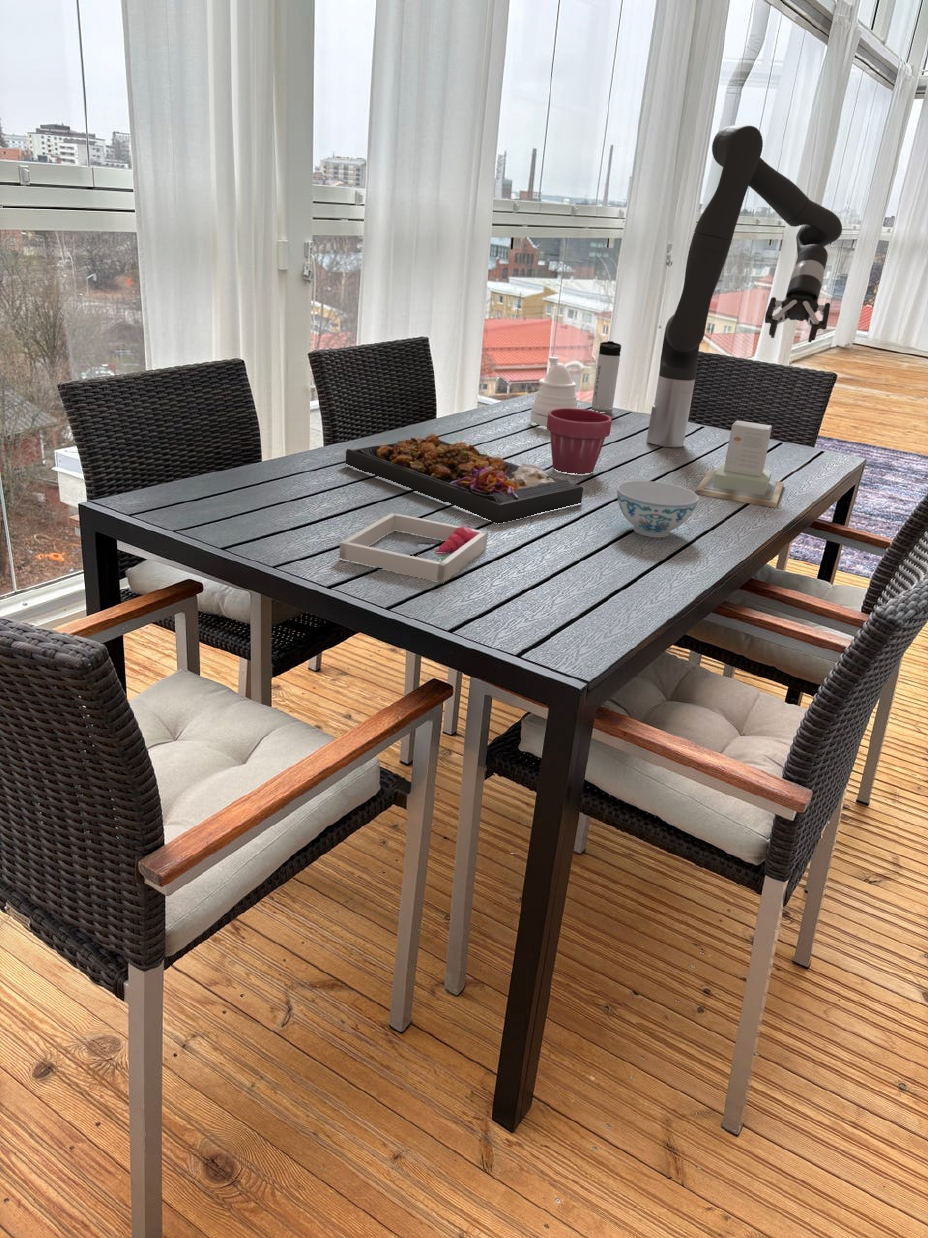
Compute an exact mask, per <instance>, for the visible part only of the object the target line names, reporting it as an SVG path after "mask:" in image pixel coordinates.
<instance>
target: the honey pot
mask: <svg viewBox="0 0 928 1238" xmlns="http://www.w3.org/2000/svg"><path fill="white" fill-rule="evenodd" d="M559 359H560V358H559V357H558V356H549V357H548V361H549V363H550V365H553V366H552V367H551V368H550V369H549V371H548V372H547V374H546V376H545V377H544V378H539V380H538V384H539V385H540V387H539V389H538V391H537V392H536V396H535V397H534V400H533V402H532V403H531V408H530V410H531V411H530V418H529V421H530V420H531V421H532V422H534V423H536V424H539V425H541V426H545V427H547V419H548V413H549V411H551V410H553V409H560V408H575V409H580V408H579V406H578V400H577V398H578V397H577V394H576V390H575V387H576V386H577V383H576V382H574V381H573V379H572V376H571V373H570V371H569V369H568V367H567V366H566V365H565V364H564V363H562V362H558V361H559Z"/></svg>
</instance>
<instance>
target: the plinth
mask: <svg viewBox="0 0 928 1238" xmlns="http://www.w3.org/2000/svg"><path fill="white" fill-rule="evenodd" d="M724 467H725V462H721V464H720V466H719V467H718V469H717V470H716V471H717V472H716V474H715V478H714V483H713V487H718V488H724V489H730V490H736V491H741V492H747V493H753V494H758V495H765V492H766V490H767V487H768V485H769V482H770V480H771V476H772V472H773V471H772V470H768V469H763V472H762V473H761V475H760V476H759V477H758V476H752V475H746V474H740V473H734V472H728V471H724Z"/></svg>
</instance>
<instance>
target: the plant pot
mask: <svg viewBox="0 0 928 1238" xmlns="http://www.w3.org/2000/svg"><path fill="white" fill-rule="evenodd" d="M612 421H613V420H612V417H611V416H610V415H607V414H603V413H600V412H596V411H592V410H591V409H584V408H579V409H575V408H560V409H553V410H551V411H549V413H548V419H547V429H548V430H547V431H549V435H550V436H549V439H550V449H551V459H552V460H551V461H552V469H553V468H554V469H556V470H558V471H561V472H567V473H575V474H576V473H577V474H585V473H591V472H593V473H594V470H595V467H596V464H597V462H598V459H599V456H600V454H601V452H602V448H603V446H604V443H605V439H606V438H607V437H609V436H610V434H611V430H612ZM554 469H553V470H554Z"/></svg>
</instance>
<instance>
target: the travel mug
mask: <svg viewBox="0 0 928 1238" xmlns="http://www.w3.org/2000/svg"><path fill="white" fill-rule="evenodd" d="M621 351H622V345H621V344H620V343H617V342H614V341H613V340H612V341H610V340H607V341H603V342H600V343H599V351H598V356H597V364H596V372H595V380H594V385H593V392H592V393H593V394H592V401H591V409H592V410H594V411H598V412H605V413H609V414H612V413H613V409H609V408H613V407H614V400H615V393H616V388H617V380H618V373H619V367H620V362H621V360H620V357H621ZM598 406H599V407H598ZM606 407H607V408H606ZM591 409H590V410H591ZM592 410H591V411H592ZM611 412H612V413H611Z"/></svg>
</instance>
